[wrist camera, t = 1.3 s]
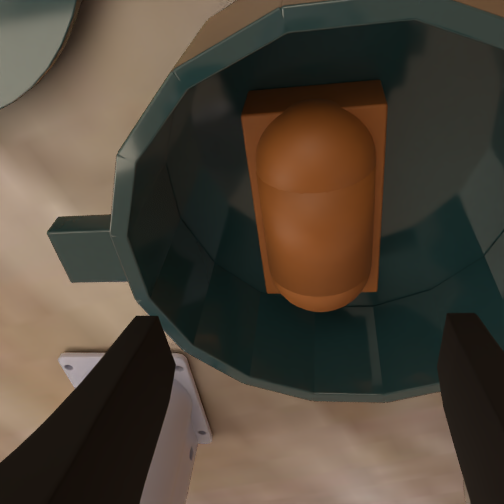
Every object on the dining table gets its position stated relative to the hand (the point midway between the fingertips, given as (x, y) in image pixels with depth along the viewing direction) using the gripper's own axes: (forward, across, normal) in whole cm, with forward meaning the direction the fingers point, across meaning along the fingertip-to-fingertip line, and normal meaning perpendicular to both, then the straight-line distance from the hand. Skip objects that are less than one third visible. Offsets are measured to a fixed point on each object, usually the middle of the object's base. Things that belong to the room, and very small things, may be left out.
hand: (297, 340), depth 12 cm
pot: (+9, -1, 0) cm, 9 cm away
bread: (+8, 0, 0) cm, 9 cm away
